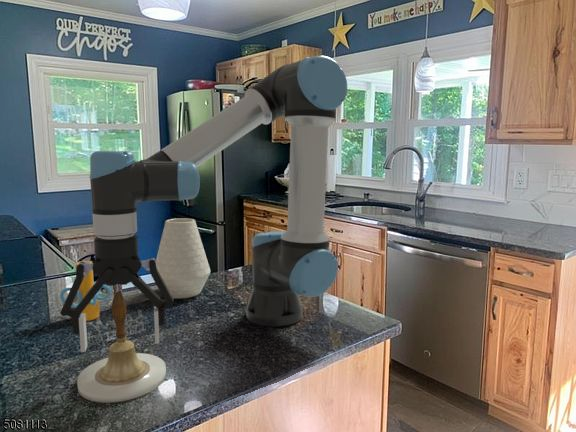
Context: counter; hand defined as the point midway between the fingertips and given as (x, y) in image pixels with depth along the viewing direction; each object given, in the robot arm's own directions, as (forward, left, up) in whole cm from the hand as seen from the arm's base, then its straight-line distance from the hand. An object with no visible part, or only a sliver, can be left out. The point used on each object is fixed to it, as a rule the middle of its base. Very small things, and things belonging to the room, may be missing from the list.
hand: (121, 345), depth 84 cm
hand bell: (0, 0, -6) cm, 6 cm away
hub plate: (0, 0, -7) cm, 7 cm away
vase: (+13, -51, -7) cm, 53 cm away
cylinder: (+28, -26, -7) cm, 39 cm away
